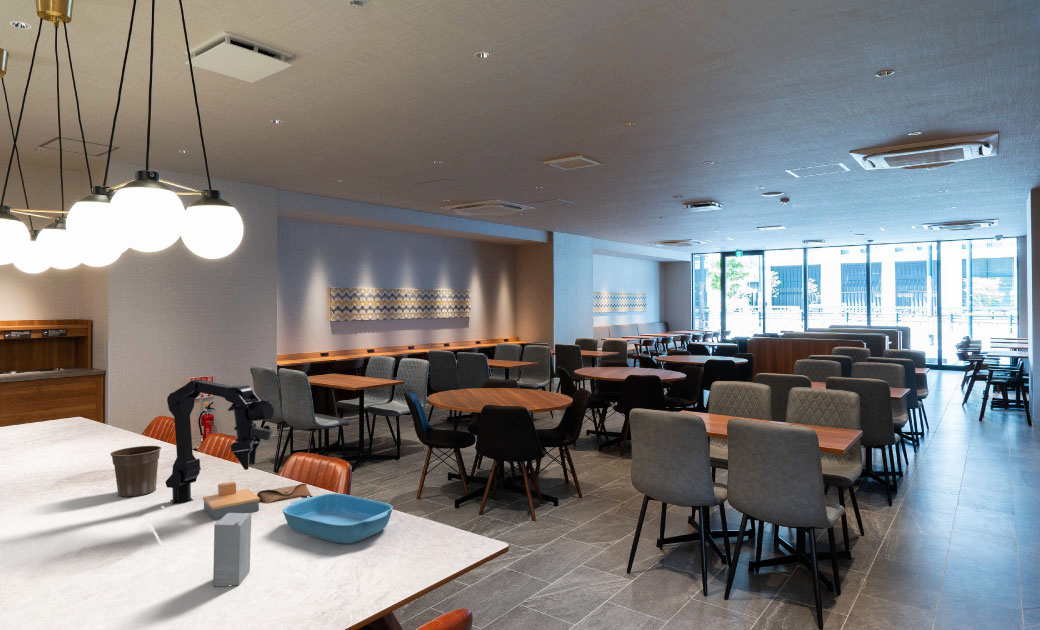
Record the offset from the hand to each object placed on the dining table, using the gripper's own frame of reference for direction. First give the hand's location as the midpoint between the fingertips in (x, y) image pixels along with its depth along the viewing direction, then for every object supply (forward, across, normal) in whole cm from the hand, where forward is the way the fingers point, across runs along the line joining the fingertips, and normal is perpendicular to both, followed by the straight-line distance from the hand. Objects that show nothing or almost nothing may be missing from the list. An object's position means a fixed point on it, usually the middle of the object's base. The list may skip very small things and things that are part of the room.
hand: (249, 467), depth 208 cm
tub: (+14, -2, +7) cm, 15 cm away
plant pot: (+7, +29, +48) cm, 57 cm away
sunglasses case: (+15, +9, -8) cm, 20 cm away
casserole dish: (+20, -27, -30) cm, 45 cm away
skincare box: (+19, -59, -7) cm, 62 cm away
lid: (+10, -2, +7) cm, 12 cm away
